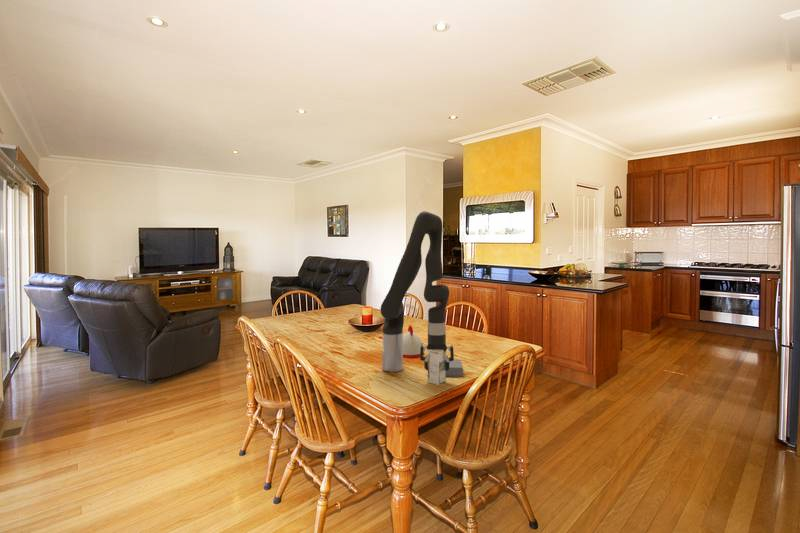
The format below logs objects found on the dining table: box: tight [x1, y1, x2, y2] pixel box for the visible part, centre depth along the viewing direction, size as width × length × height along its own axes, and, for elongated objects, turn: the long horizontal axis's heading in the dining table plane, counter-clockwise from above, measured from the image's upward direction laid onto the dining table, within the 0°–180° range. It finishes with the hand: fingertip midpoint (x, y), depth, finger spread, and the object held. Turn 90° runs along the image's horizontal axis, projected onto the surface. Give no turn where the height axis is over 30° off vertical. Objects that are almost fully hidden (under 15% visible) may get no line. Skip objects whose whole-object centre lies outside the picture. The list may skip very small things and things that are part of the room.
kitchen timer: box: [403, 325, 425, 359], centre depth 204 cm, size 14×14×15 cm
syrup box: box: [427, 349, 447, 386], centre depth 165 cm, size 6×6×14 cm
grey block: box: [446, 359, 464, 378], centre depth 177 cm, size 11×11×4 cm
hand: (436, 370), depth 165 cm, fingers closed on syrup box, 8 cm apart
